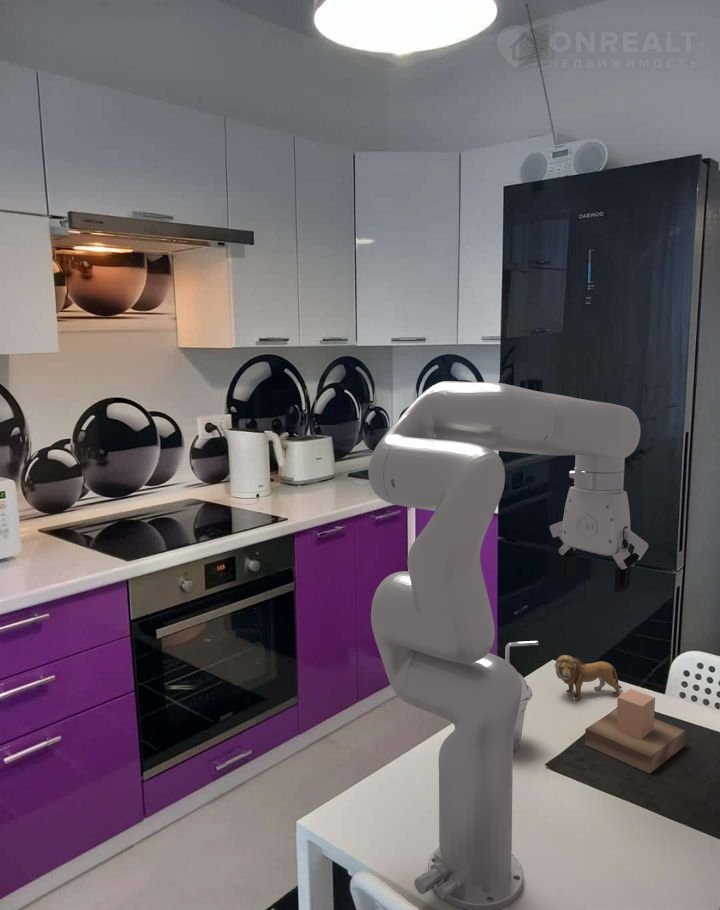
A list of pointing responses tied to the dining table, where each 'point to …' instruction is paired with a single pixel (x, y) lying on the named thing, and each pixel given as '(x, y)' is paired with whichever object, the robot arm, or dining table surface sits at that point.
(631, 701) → the terracotta block
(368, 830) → the dining table surface
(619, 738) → the walnut base
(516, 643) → the cup with straw
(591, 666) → the lion figurine
